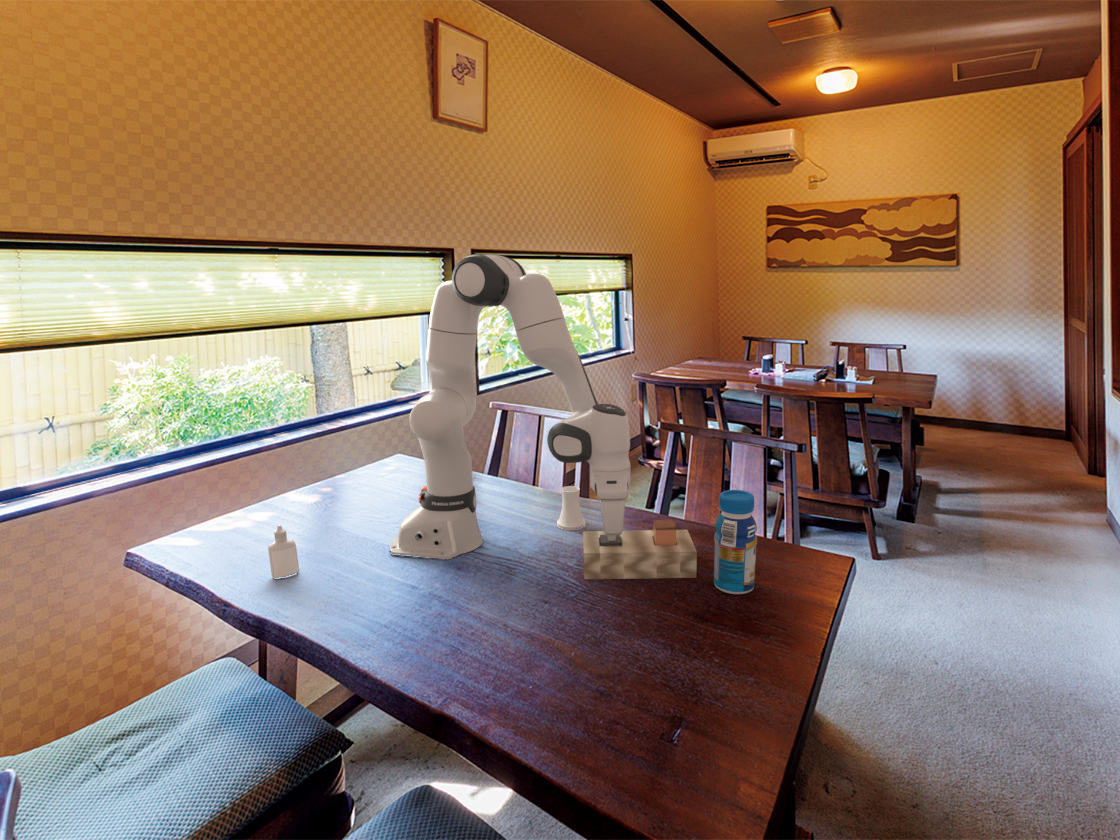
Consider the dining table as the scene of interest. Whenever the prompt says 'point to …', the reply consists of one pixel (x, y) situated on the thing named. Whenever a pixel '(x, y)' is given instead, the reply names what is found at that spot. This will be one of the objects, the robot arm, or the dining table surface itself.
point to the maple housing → (639, 556)
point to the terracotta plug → (664, 532)
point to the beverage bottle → (735, 543)
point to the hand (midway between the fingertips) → (611, 538)
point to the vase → (570, 510)
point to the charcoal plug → (606, 542)
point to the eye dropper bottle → (283, 555)
